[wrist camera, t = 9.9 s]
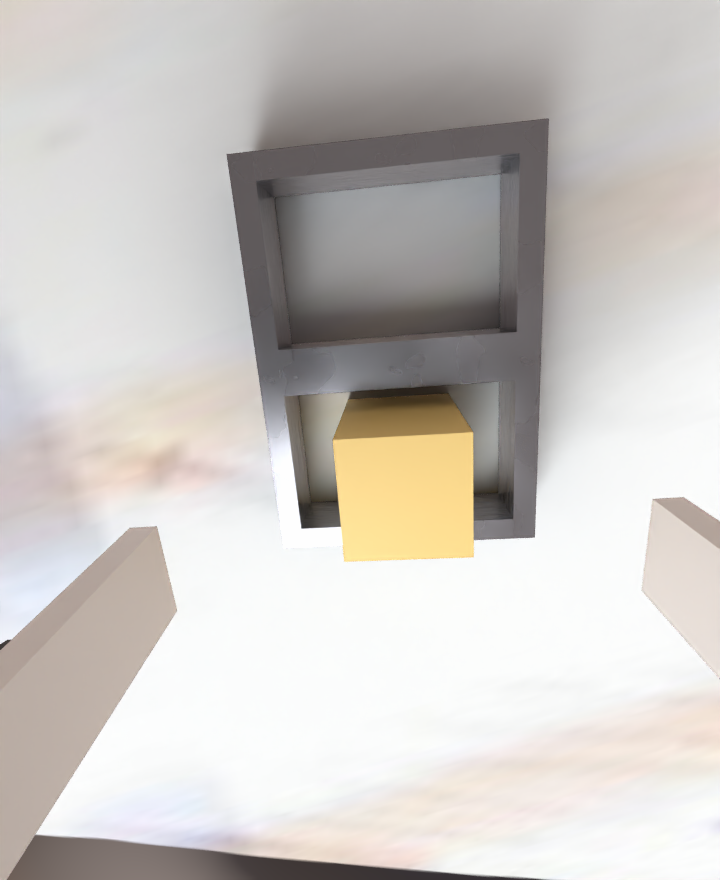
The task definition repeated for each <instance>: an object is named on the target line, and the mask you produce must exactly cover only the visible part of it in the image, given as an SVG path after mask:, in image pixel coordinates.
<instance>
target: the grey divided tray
mask: <svg viewBox="0 0 720 880" xmlns="http://www.w3.org/2000/svg"><path fill="white" fill-rule="evenodd" d="M548 124H549V119H540V120H531V121H522V122H513V123H504V124H495V125H486V126H477V127H468V128H459V129H450V130H441V131H432V132H423V133H414V134H405V135H396V136H387V137H378V138H369V139H360V140H351V141H342V142H333V143H324V144H315V145H306V146H297V147H288V148H279V149H270V150H261V151H252V152H243V153H234V154H227V160H228V167H229V174H230V181H231V188H232V195H233V202H234V208H235V215H236V222H237V229H238V236H239V243H240V250H241V257H242V264H243V271H244V278H245V285H246V292H247V298H248V305H249V312H250V319H251V326H252V333H253V340H254V347H255V354H256V361H257V368H258V375H259V382H260V388H261V395H262V402H263V409H264V416H265V423H266V430H267V437H268V444H269V451H270V458H271V465H272V472H273V479H274V485H275V492H276V499H277V506H278V513H279V520H280V527H281V534H282V541H283V548H299V547H322V546H343V543H342V533H341V523H340V512H339V502H338V501H331V502H312V503H311V497H310V489H309V481H308V472H307V464H306V456H305V448H304V439H303V431H302V423H301V415H300V406H299V398H298V395H310V394H325V393H339V392H354V391H368V390H383V389H398V388H412V387H427V386H441V385H456V384H470V383H485V382H499V475H498V493H490V494H473V531H474V540H485V539H509V538H532V537H535V515H536V485H537V455H538V425H539V395H540V365H541V335H542V305H543V275H544V245H545V215H546V185H547V154H548ZM496 174H501V206H500V328H491V329H478V330H465V331H453V332H440V333H427V334H414V335H401V336H388V337H375V338H362V339H350V340H337V341H324V342H311V343H298V344H292V340H291V332H290V324H289V315H288V307H287V299H286V291H285V282H284V274H283V266H282V257H281V249H280V241H279V233H278V224H277V216H276V208H275V200H274V197H282V196H292V195H302V194H312V193H321V192H331V191H341V190H350V189H360V188H370V187H380V186H389V185H399V184H409V183H418V182H428V181H438V180H447V179H457V178H467V177H477V176H486V175H496Z"/></svg>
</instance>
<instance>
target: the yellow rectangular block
mask: <svg viewBox="0 0 720 880" xmlns="http://www.w3.org/2000/svg"><path fill="white" fill-rule="evenodd" d="M333 450H334V460H335V471H336V481H337V491H338V502H339V512H340V523H341V533H342V543H343V554H344V562H349V561H378V560H407V559H436V558H465V557H474V531H473V431H472V430H471V428H470V427H469V425H468V423H467V422H466V420H465V419H464V417H463V416H462V414H461V413H460V411H459V409H458V408H457V406H456V405H455V403H454V402H453V400H452V398H451V397H450V395H449V394H448V393H445V394H429V395H413V396H397V397H381V398H364V399H348V402H347V404H346V407H345V409H344V412H343V415H342V417H341V420H340V422H339V425H338V427H337V430H336V432H335V435H334V438H333Z"/></svg>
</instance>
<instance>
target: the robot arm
mask: <svg viewBox="0 0 720 880" xmlns="http://www.w3.org/2000/svg"><path fill="white" fill-rule="evenodd" d="M641 591H642V592H643V593H644V594H645V595H646V596H647V597H648V599H649V600H650V601H651V602H652V603H653V604H654V605H655V606H656V608H657V609H658V610H659V611H660V612H661V613H662V614H663V616H664V617H665V618H666V619H667V620H668V621H669V622H670V623H671V625H672V626H673V627H674V628H675V629H676V630H677V631H678V633H679V634H680V635H681V636H682V637H683V638H684V639H685V640H686V642H687V643H688V644H689V645H690V646H691V647H692V648H693V649H694V651H695V652H696V653H697V654H698V655H699V656H700V657H701V659H702V660H703V661H704V662H705V663H706V664H707V665H708V666H709V668H710V669H711V670H712V671H713V672H714V673H715V674H716V676H717V677H718V678H719V679H720V521H718V520H717V519H715V518H714V517H712V516H711V515H709V514H708V513H706V512H705V511H703V510H702V509H700V508H699V507H697V506H696V505H694V504H693V503H691V502H690V501H688V500H687V499H685V498H684V497H680V498H662V499H653V500H652V508H651V516H650V524H649V533H648V541H647V549H646V557H645V565H644V573H643V582H642V590H641ZM176 612H177V608H176V604H175V600H174V596H173V591H172V587H171V583H170V579H169V575H168V571H167V566H166V562H165V558H164V554H163V550H162V546H161V541H160V537H159V533H158V529H157V526H156V527H138V528H129V529H128V530H127V531H126V532H125V533H124V534H123V535H122V536H121V537H120V538H119V539H118V540H117V541H116V542H114V543H113V544H112V545H111V546H110V547H109V548H108V549H107V550H106V551H105V552H104V553H103V554H102V555H101V556H100V557H99V558H98V559H96V560H95V561H94V562H93V563H92V564H91V565H90V566H89V567H88V568H87V569H86V570H85V571H84V572H83V573H82V574H81V575H80V576H78V577H77V578H76V579H75V580H74V581H73V582H72V583H71V584H70V585H69V586H68V587H67V588H66V589H65V590H64V591H63V592H62V593H60V594H59V595H58V596H57V597H56V598H55V599H54V600H53V601H52V602H51V603H50V604H49V605H48V606H47V607H46V608H45V609H44V610H42V611H41V612H40V613H39V614H38V615H37V616H36V617H35V618H34V619H33V620H32V621H31V622H30V623H29V624H28V625H27V626H26V627H24V628H23V629H22V630H21V631H20V632H19V633H18V634H17V635H16V636H15V637H14V638H13V639H12V640H6V641H5V642H3V643H2V644H0V880H7V878H8V876H9V875H10V873H11V872H12V870H13V869H14V867H15V865H16V864H17V862H18V861H19V859H20V858H21V856H22V854H23V853H24V851H25V850H26V848H27V847H28V845H29V843H30V842H31V840H32V839H33V837H34V836H35V834H36V832H37V831H38V829H39V828H40V826H41V824H42V823H43V821H44V820H45V818H46V817H47V815H48V813H49V812H50V810H51V809H52V807H53V806H54V804H55V802H56V801H57V799H58V798H59V796H60V795H61V793H62V791H63V790H64V788H65V787H66V785H67V784H68V782H69V780H70V779H71V777H72V776H73V774H74V772H75V771H76V769H77V768H78V766H79V765H80V763H81V761H82V760H83V758H84V757H85V755H86V754H87V752H88V750H89V749H90V747H91V746H92V744H93V743H94V741H95V739H96V738H97V736H98V735H99V733H100V731H101V730H102V728H103V727H104V725H105V724H106V722H107V720H108V719H109V717H110V716H111V714H112V713H113V711H114V709H115V708H116V706H117V705H118V703H119V702H120V700H121V698H122V697H123V695H124V694H125V692H126V691H127V689H128V687H129V686H130V684H131V683H132V681H133V679H134V678H135V676H136V675H137V673H138V672H139V670H140V668H141V667H142V665H143V664H144V662H145V661H146V659H147V657H148V656H149V654H150V653H151V651H152V650H153V648H154V646H155V645H156V643H157V642H158V640H159V638H160V637H161V635H162V634H163V632H164V631H165V629H166V627H167V626H168V624H169V623H170V621H171V620H172V618H173V616H174V615H175V613H176Z"/></svg>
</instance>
